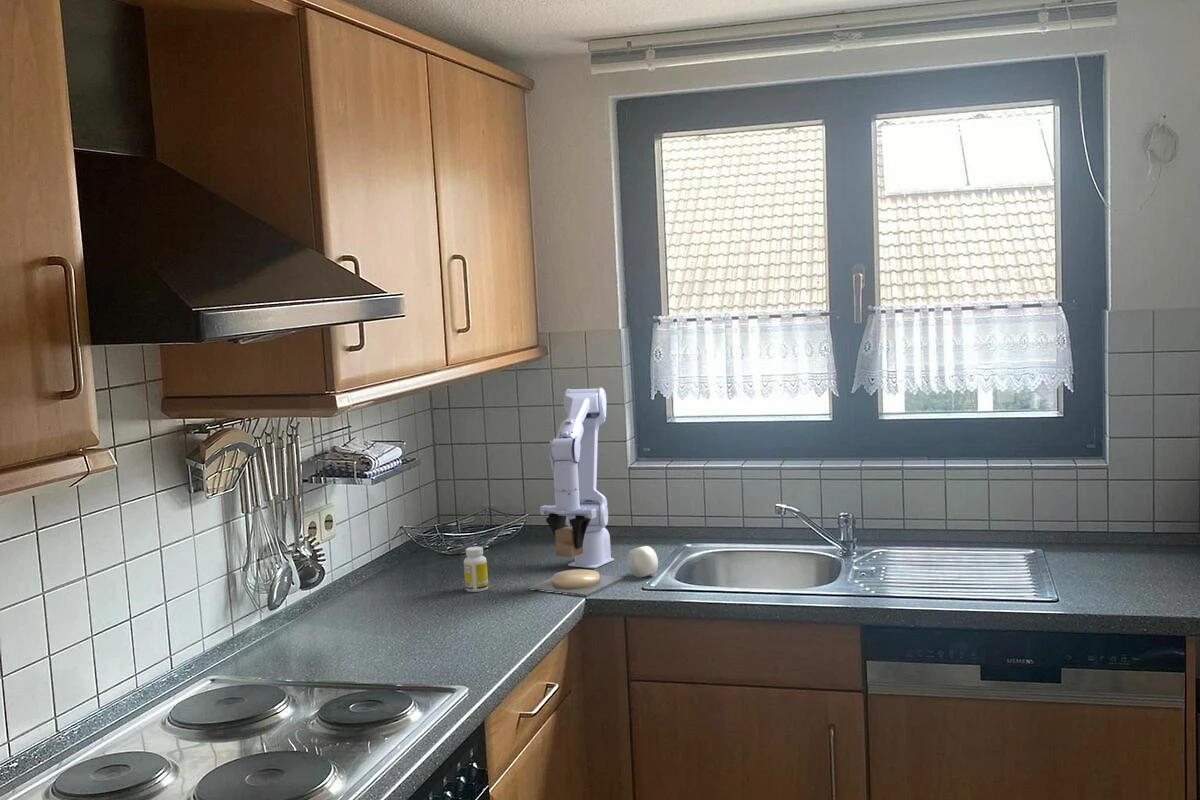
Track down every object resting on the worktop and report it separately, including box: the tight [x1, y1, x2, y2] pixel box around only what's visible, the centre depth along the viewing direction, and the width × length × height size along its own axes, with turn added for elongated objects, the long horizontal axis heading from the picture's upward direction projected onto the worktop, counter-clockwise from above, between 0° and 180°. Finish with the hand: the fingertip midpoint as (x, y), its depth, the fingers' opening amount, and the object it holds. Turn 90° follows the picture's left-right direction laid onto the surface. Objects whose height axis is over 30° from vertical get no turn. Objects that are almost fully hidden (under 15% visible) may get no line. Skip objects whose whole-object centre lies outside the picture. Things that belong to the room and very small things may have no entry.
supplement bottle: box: [463, 546, 489, 593], centre depth 275 cm, size 5×5×10 cm
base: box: [527, 568, 624, 597], centre depth 275 cm, size 16×16×2 cm
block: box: [554, 526, 583, 558], centre depth 275 cm, size 4×4×6 cm
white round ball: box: [627, 545, 659, 579], centre depth 280 cm, size 7×7×4 cm
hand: (569, 546), depth 275 cm, fingers closed on block, 4 cm apart
